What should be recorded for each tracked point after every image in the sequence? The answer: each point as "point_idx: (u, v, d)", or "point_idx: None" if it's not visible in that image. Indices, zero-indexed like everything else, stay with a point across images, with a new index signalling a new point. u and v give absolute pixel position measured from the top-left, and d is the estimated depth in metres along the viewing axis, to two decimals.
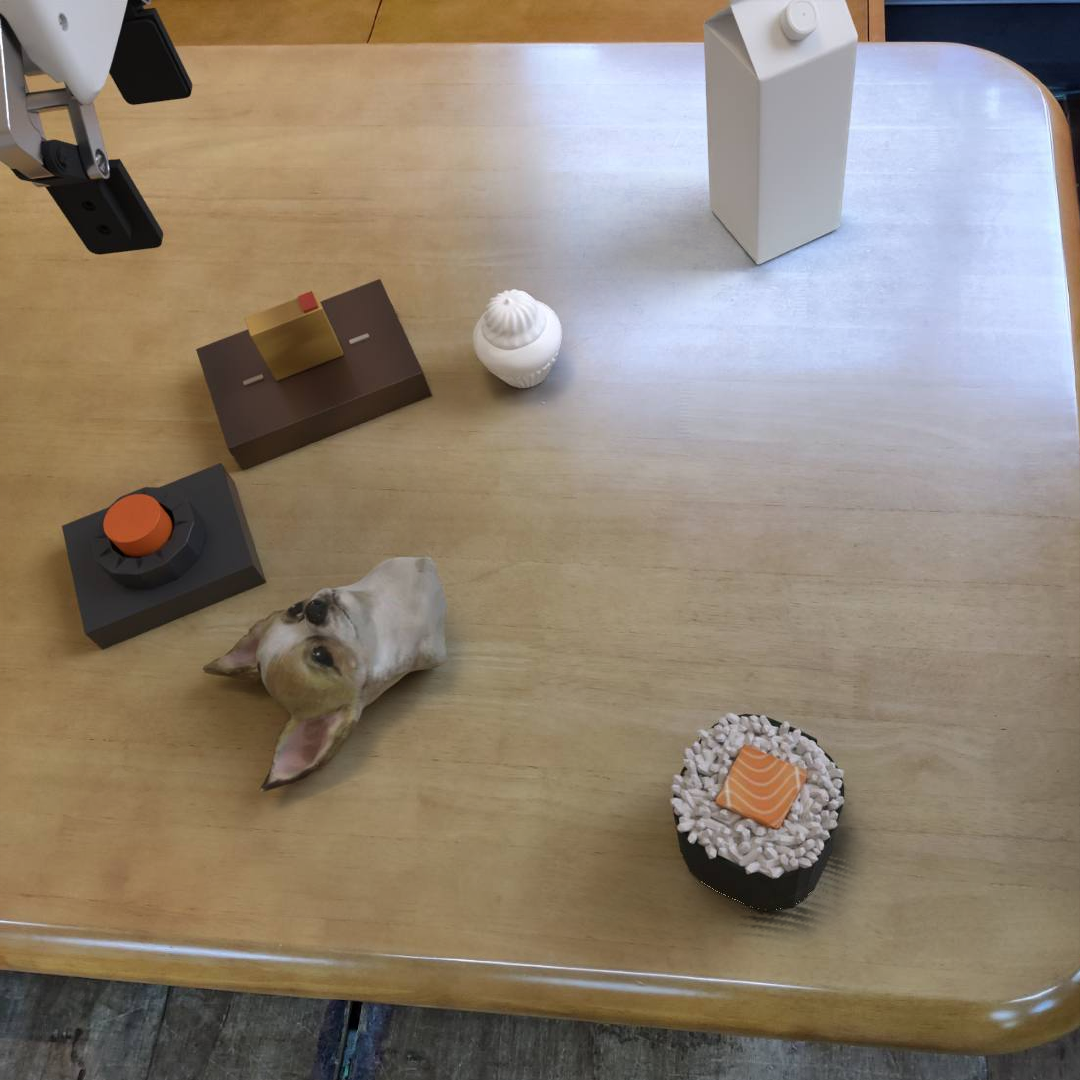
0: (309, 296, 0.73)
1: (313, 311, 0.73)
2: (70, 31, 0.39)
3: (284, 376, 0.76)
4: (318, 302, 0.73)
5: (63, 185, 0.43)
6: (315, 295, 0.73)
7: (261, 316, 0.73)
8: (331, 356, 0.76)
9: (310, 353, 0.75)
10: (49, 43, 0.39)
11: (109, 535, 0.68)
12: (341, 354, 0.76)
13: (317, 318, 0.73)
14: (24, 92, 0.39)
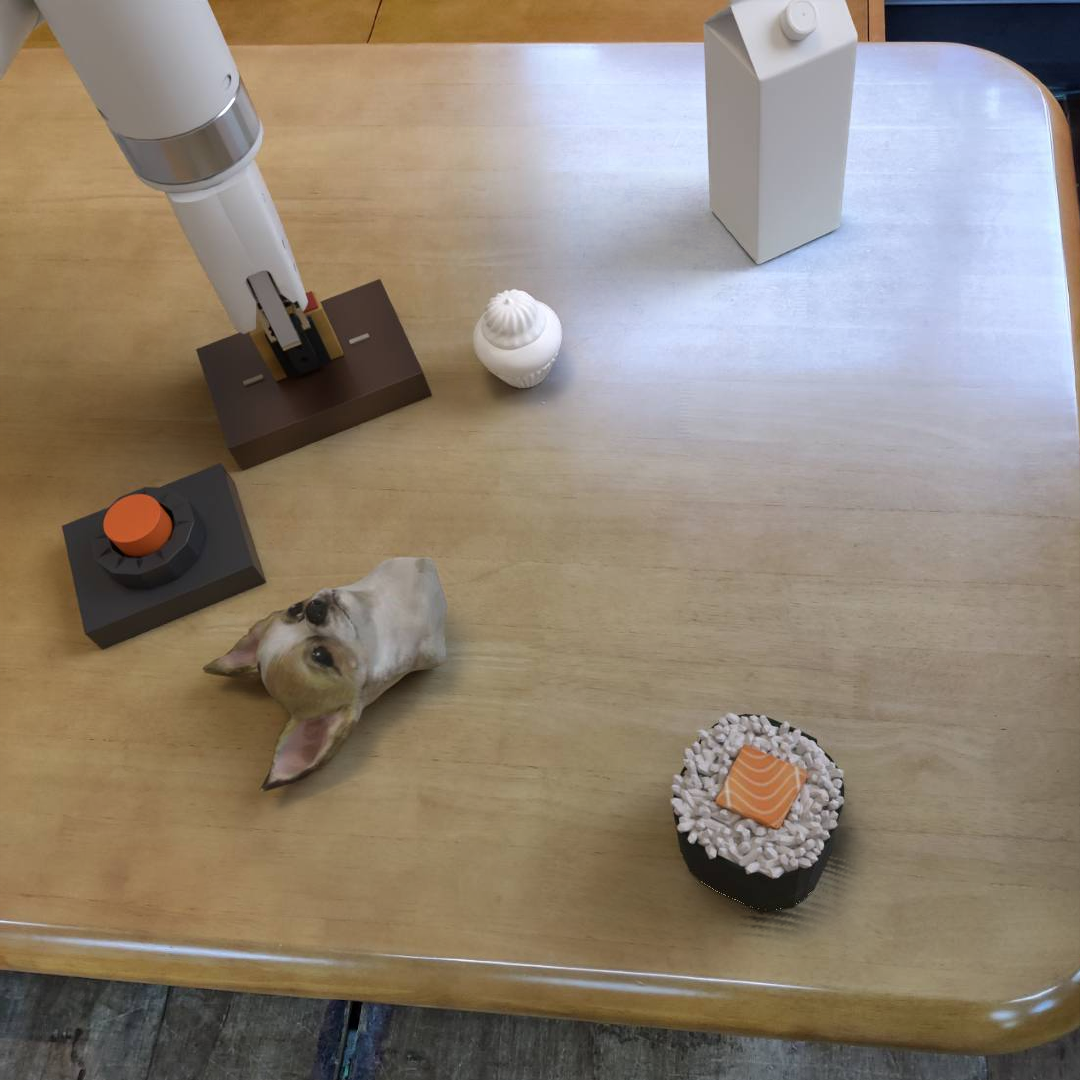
0: (309, 296, 0.73)
1: (313, 311, 0.73)
2: (296, 271, 0.66)
3: (284, 376, 0.76)
4: (318, 302, 0.73)
5: None
6: (315, 295, 0.73)
7: None
8: (331, 356, 0.76)
9: None
10: (291, 281, 0.65)
11: (109, 535, 0.68)
12: (341, 354, 0.76)
13: (317, 318, 0.73)
14: (285, 307, 0.67)
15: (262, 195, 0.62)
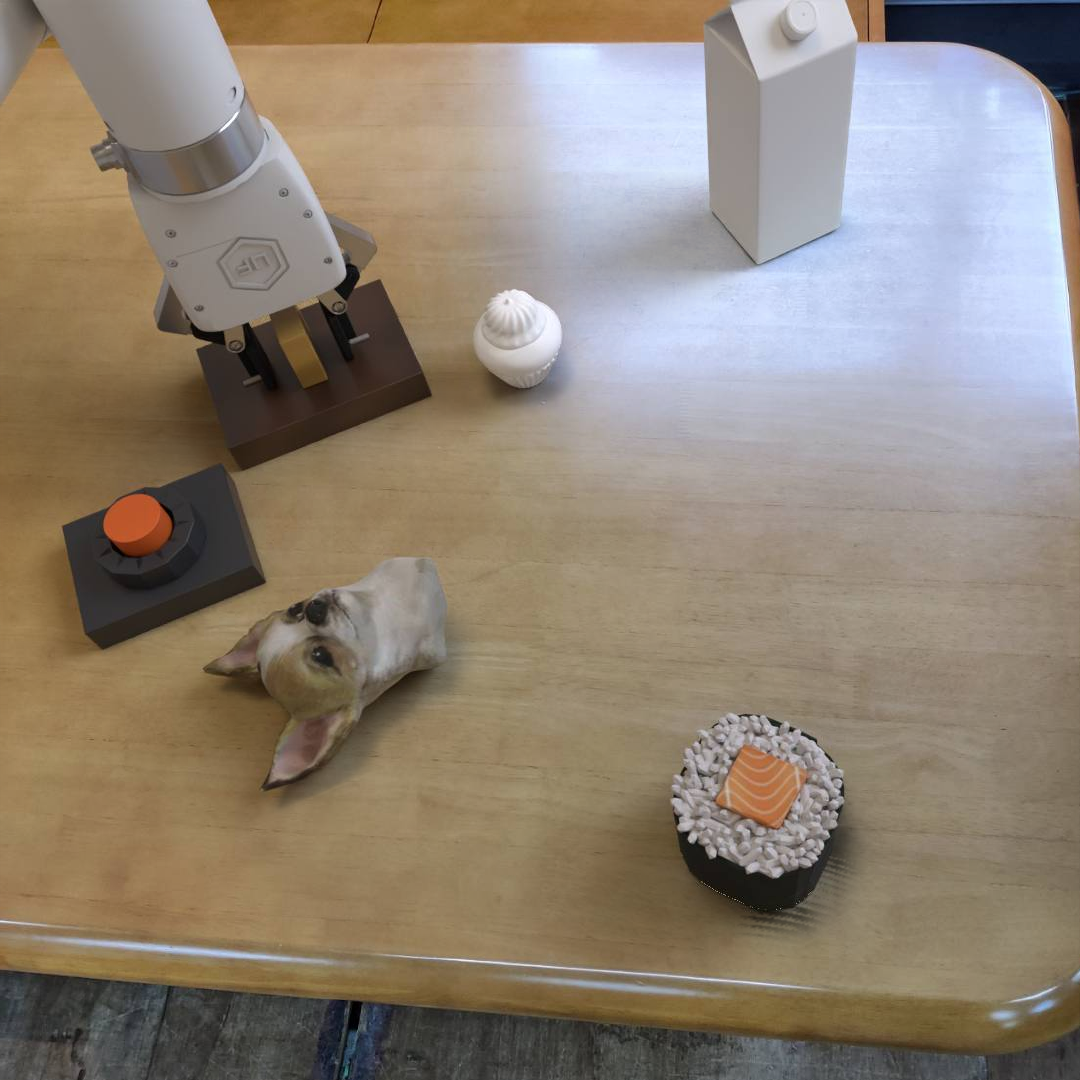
0: None
1: None
2: None
3: (324, 371, 0.76)
4: None
5: None
6: None
7: (281, 329, 0.72)
8: (311, 335, 0.77)
9: (310, 338, 0.76)
10: None
11: (109, 535, 0.68)
12: (309, 331, 0.78)
13: None
14: None
15: None
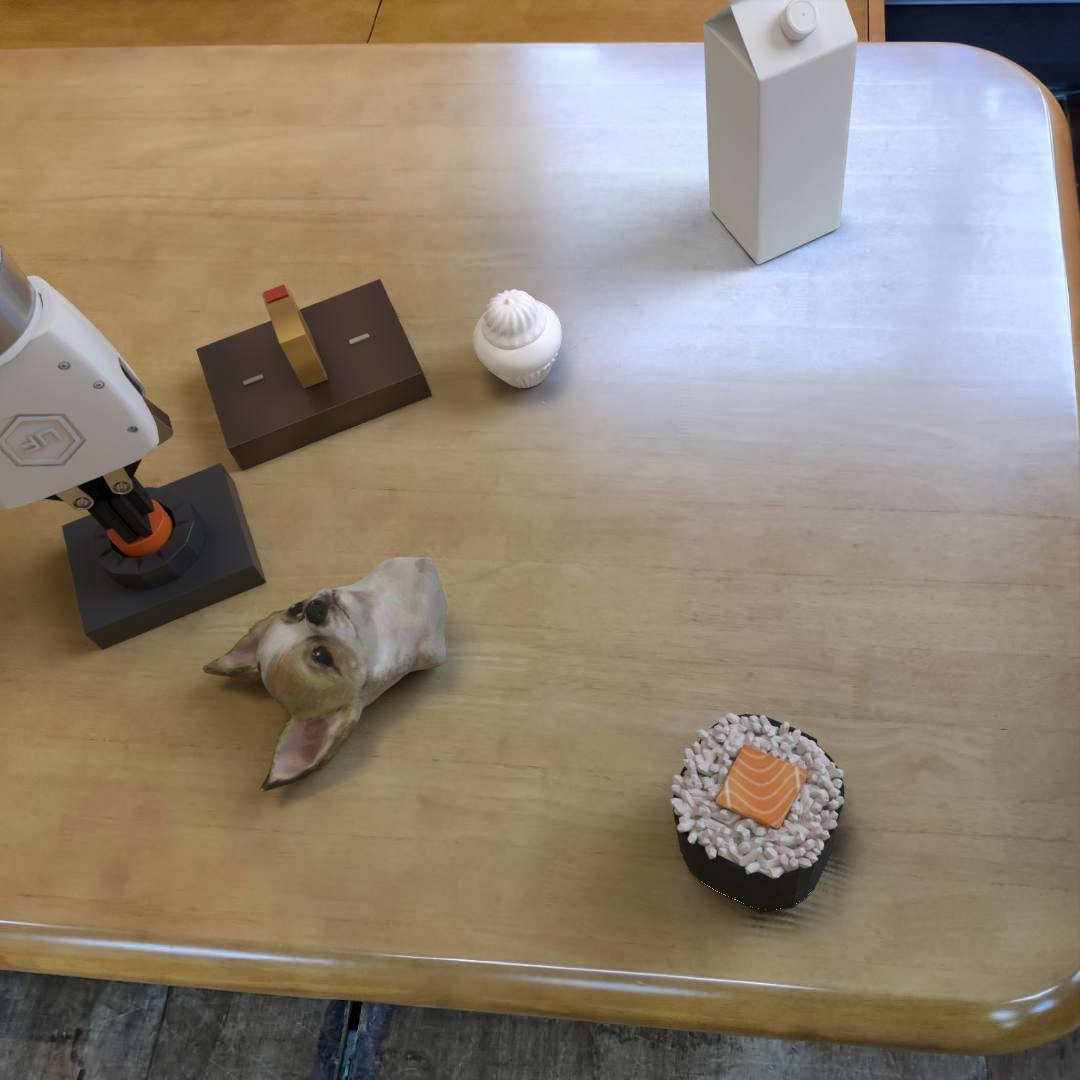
0: (270, 292, 0.73)
1: (288, 290, 0.74)
2: None
3: (324, 371, 0.76)
4: None
5: None
6: None
7: (281, 329, 0.72)
8: (311, 335, 0.77)
9: (310, 338, 0.76)
10: None
11: (112, 539, 0.68)
12: (309, 331, 0.78)
13: (292, 296, 0.74)
14: None
15: None
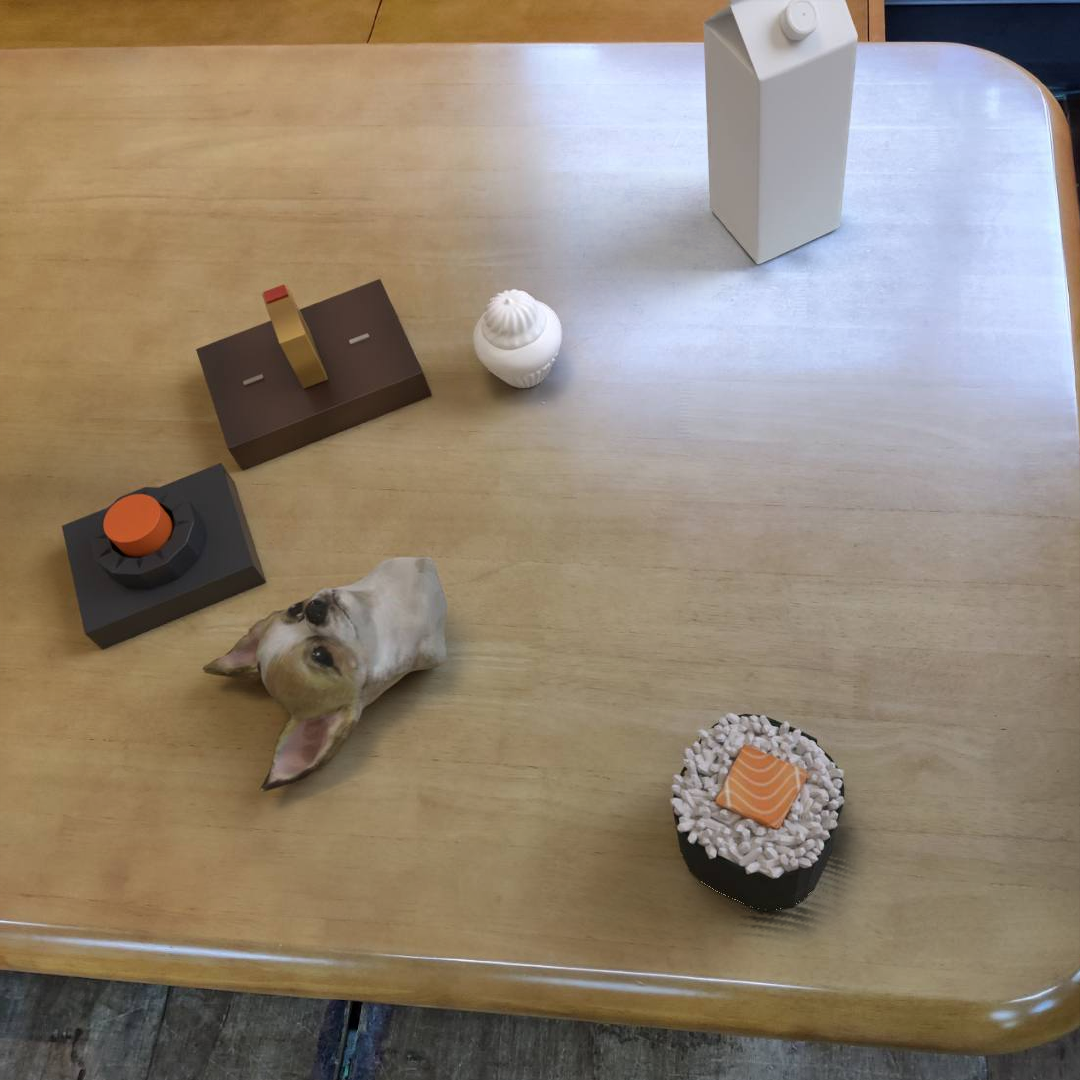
0: (270, 292, 0.73)
1: (288, 290, 0.74)
2: None
3: (324, 371, 0.76)
4: None
5: None
6: None
7: (281, 329, 0.72)
8: (311, 335, 0.77)
9: (310, 338, 0.76)
10: None
11: (109, 535, 0.68)
12: (309, 331, 0.78)
13: (292, 296, 0.74)
14: None
15: None
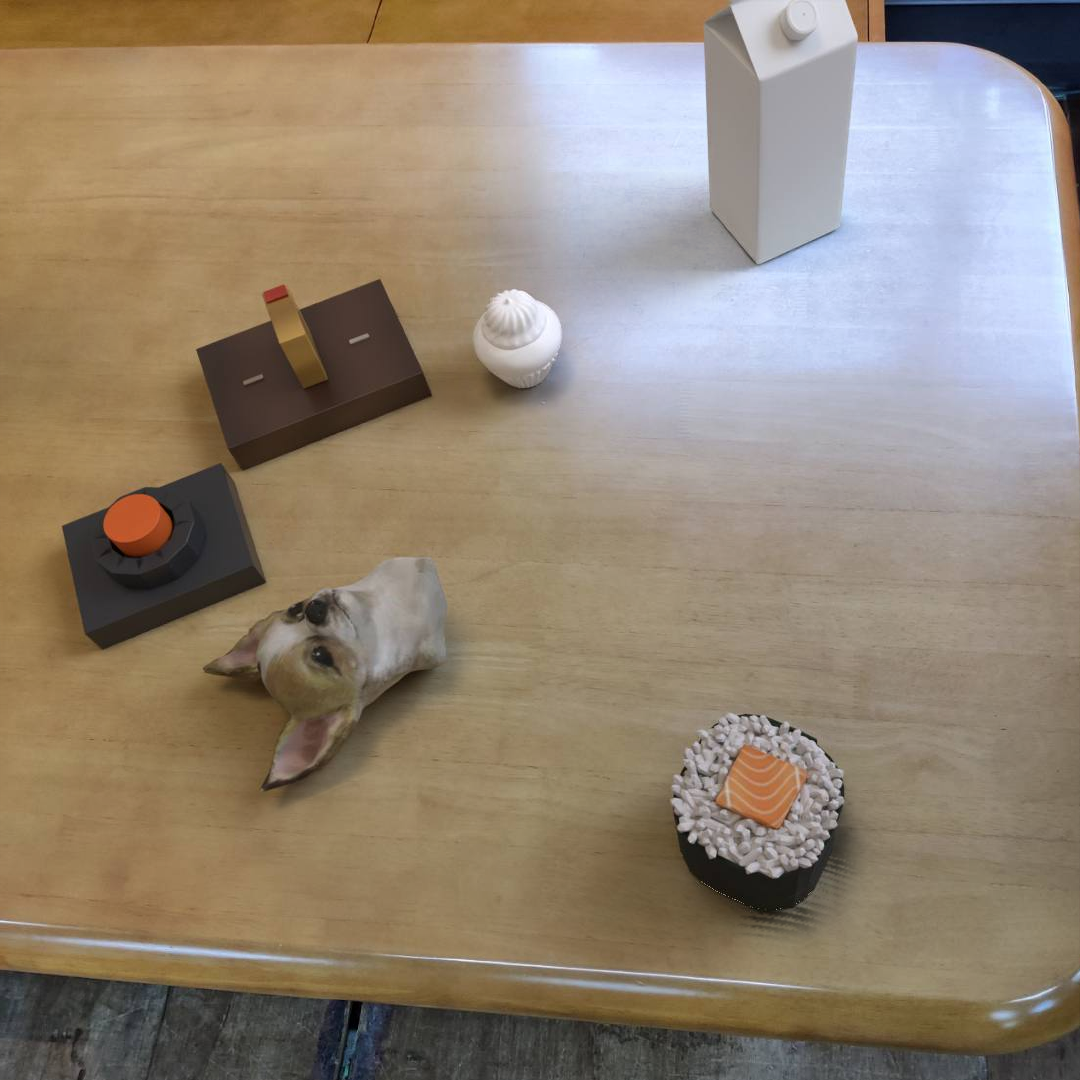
0: (270, 292, 0.73)
1: (288, 290, 0.74)
2: None
3: (324, 371, 0.76)
4: None
5: None
6: None
7: (281, 329, 0.72)
8: (311, 335, 0.77)
9: (310, 338, 0.76)
10: None
11: (109, 535, 0.68)
12: (309, 331, 0.78)
13: (292, 296, 0.74)
14: None
15: None
